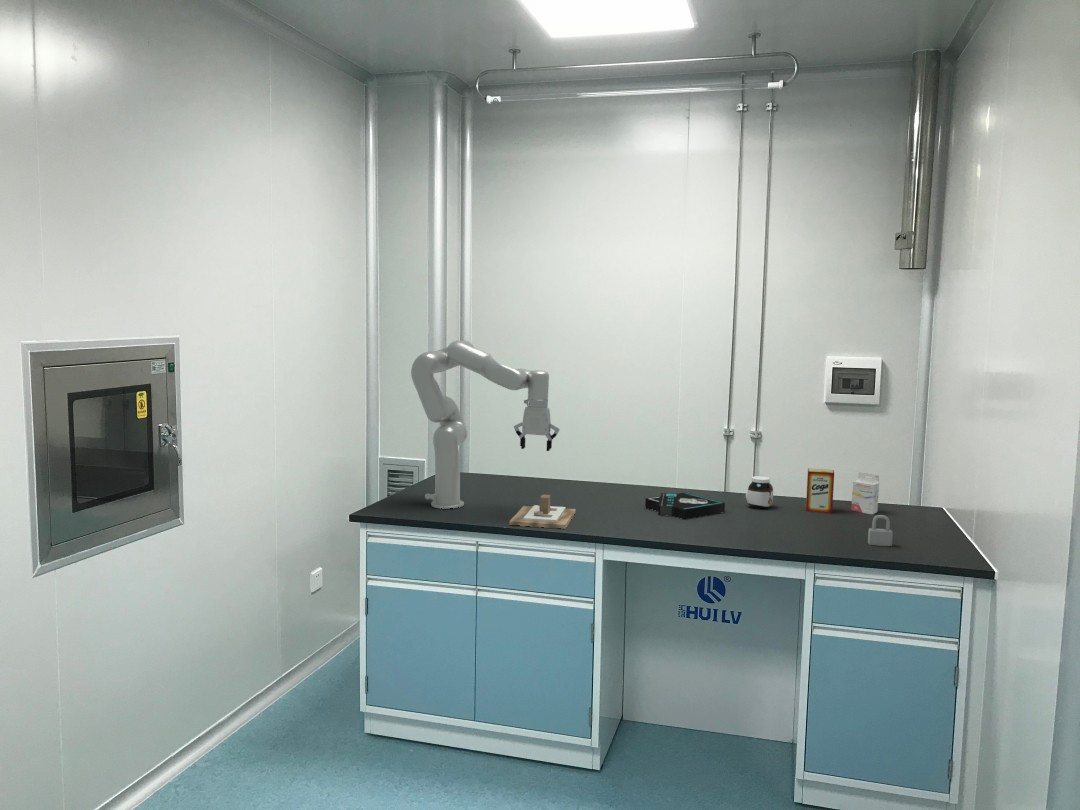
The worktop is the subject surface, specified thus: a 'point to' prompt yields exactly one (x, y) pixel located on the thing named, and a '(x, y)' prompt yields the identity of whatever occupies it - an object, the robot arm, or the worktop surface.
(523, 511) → the board
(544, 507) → the panel
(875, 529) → the padlock
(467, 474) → the worktop surface
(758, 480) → the spread jar
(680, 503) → the flat black box
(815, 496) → the baking soda box
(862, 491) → the ink cartridge box
